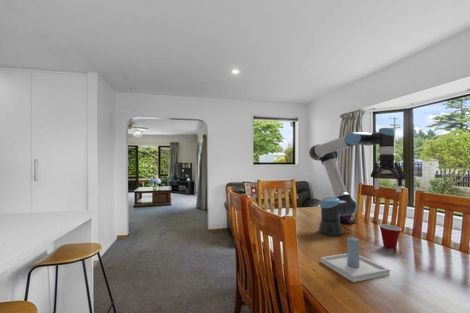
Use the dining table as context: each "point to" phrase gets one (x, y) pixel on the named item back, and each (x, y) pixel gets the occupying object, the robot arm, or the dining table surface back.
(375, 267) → the tray
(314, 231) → the dining table surface
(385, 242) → the plastic cup
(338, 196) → the robot arm
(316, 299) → the dining table surface
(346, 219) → the decorative bottle
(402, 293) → the dining table surface
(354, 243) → the dowel pin
